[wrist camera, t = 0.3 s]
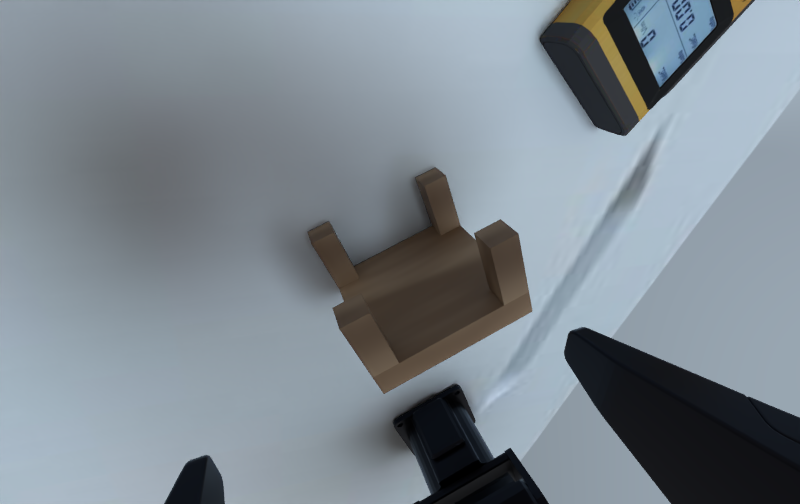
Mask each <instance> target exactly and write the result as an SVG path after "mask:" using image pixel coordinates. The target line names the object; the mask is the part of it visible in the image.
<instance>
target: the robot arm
mask: <svg viewBox="0 0 800 504" xmlns="http://www.w3.org/2000/svg"><path fill="white" fill-rule="evenodd" d="M564 356H565V359H566V361H567V363H568V364H569V366H570V367H571V369H572V371H573V372H574V374H575V375H576V377H577V378H578V380H579V381H580V383H581V385H582V386H583V388H584V389H585V391H586V392H587V394H588V395H589V397H590V398H591V400H592V402H593V403H594V405H595V406H596V408H597V409H598V410H599V412H600V413H601V415H602V416H603V417H604V419H605V420H606V421H607V422H608V424H609V425H610V426H611V427H612V429H613V430H614V431H615V433H616V434H617V435H618V437H619V438H620V439H621V440H622V442H623V443H624V444H625V445H626V447H627V448H628V449H629V451H630V452H631V453H632V454H633V456H634V457H635V458H636V459H637V461H638V462H639V463H640V464H641V466H642V467H643V468H644V470H645V471H646V472H647V473H648V475H649V476H650V477H651V479H652V480H653V481H654V482H655V484H656V485H657V486H658V488H659V489H660V490H661V491H662V493H663V494H664V495H665V496H666V498H667V499H668V500H669V502H670V503H671V504H800V418H799V417H797V416H794V415H792V414H790V413H787V412H785V411H782V410H780V409H777V408H775V407H772V406H770V405H768V404H765V403H763V402H761V401H758V400H756V399H753V398H751V397H746V396H745V395H744V394H741V393H739V392H737V391H734V390H732V389H730V388H727V387H725V386H723V385H720V384H718V383H716V382H713V381H711V380H708V379H706V378H704V377H701V376H699V375H697V374H694V373H692V372H690V371H687V370H685V369H683V368H680V367H678V366H676V365H673V364H671V363H668V362H666V361H664V360H661V359H659V358H656V357H654V356H652V355H650V354H647V353H645V352H642V351H640V350H638V349H635V348H633V347H631V346H628V345H626V344H624V343H621V342H619V341H617V340H614V339H612V338H610V337H607V336H605V335H603V334H600V333H598V332H595V331H593V330H591V329H588V328H585V327H581V328H578V329H575V330H572V331H570V332H569V334H568V338H567V342H566V346H565V350H564ZM474 423H475V418H474V416H473V414H472V411H471V409H470V407H469V405H468V402H467V400H466V398H465V395H464V393H463V391H462V389H461V387H460V386H458V385H456V386H454V387H452V388H450V389H448V390H446V391H445V392H443V393H441V394H439V395H438V396H436V397H434V398H432V399H431V400H429V401H427V402H425V403H423V404H422V405H420V406H418V407H416V408H415V409H413V410H411V411H409V412H408V413H406V414H404V415H402V416H400V417H399V418H397V419H395V420H394V422H393V424H394V427H395V429H396V430H397V432H398V433H399V435H400V436H401V437H402V439H403V440H404V441H405V443H406V444H407V446H408V447H409V448H410V450H411V451H412V453H413V454H414V455H415V456H416V459H417V461H418V464H419V466H420V468H421V471H422V473H423V476H424V478H425V481H426V483H427V486H428V488H429V491H430V493H431V495H430V496H428V497H427V498H425V499H423V500H421V501H417V502H415V503H414V504H549V503H548V502H547V500H546V499H545V497H544V495H543V494H542V492H541V491H540V489H539V488H538V487H537V485H536V484H535V482H534V481H533V479H532V478H531V477H530V475H529V474H528V472H527V471H526V469H525V468H524V467H523V465H522V464H521V462H520V461H519V459H518V458H517V456H516V455H515V454H514V452H513V451H512V449H511V448H509V449H507V450H506V451H505V453H503V454H501V455H500V456H498V457H496V458H494V457H493V455H492V454H491V452H490V450H489V449H488V447H487V445H486V443H485V442H484V440H483V438H482V436H481V435H480V433H479V431H478V429H477V428H476V426H475V424H474ZM164 504H225V501H224V487H223V480H222V476H221V474H220V472H219V471H218V469H217V467H216V465H215V464H214V462H213V460H212V459H211V457H210V456H208V455H204V456H201V457H198V458H196V459H193V460H190V461H188V462H187V463H186V464H185V466H184V467H183V469H182V471H181V473H180V475H179V477H178V479H177V481H176V482H175V484H174V486H173V488H172V490H171V492H170V494H169V496H168V498H167V499H166V501H165V503H164Z"/></svg>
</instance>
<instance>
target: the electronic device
mask: <svg viewBox="0 0 800 504" xmlns="http://www.w3.org/2000/svg"><path fill="white" fill-rule="evenodd" d="M754 1H755V0H571V1H570V2H569V4H568V5H567V6H566V7H565V9H564V10H563V11H562V12H561V13H560V15H559V16H558V17H557V18H556V19H555V21H554V22H553V23H552V24H551V25H550V26H549V28H548V29H547V30H546V31H545V32H544V34H543V35H542V36H541V38H540V42H541V44H542V45H544V48H545V50H546V51H547V53H548V54H549V56H550V58H551V59H552V61H553V62H554V64H555V65H556V67H557V68H558V70H559V71H560V73H561V74H562V76H563V77H564V79H565V81H566V82H567V84H568V85H569V87H570V88H571V90H572V91H573V93H574V94H575V96H576V97H577V99H578V101H579V102H580V104H581V105H582V107H583V108H584V110H585V111H586V113H587V114H588V116H589V117H590V119H591V120H592V122H593V124H594V125H595V126H596V127H598V128H600V129H603V130H606V131H608V132H611V133H614V134H617V135H622V136H626V135H627V134H628V133H629V132H630V131H631V130H632V129H633V127H634V126H635V125H636V124H637V123H638V122H639V121H640V120H641V119H642V118H643V117H644V116H645V114H646V113H647V112H648V111H649V110H650V109H651V108H653V106H654V105H655V104H656V103H657V102H658V101H659V100H660V99H661V98H663V97H664V96H665V95H666V94H668V93H669V92H670V91H671V90H672V89H673V88H674V87H675V85H676V84H677V83H678V82H679V81H680V80H681V79H682V78H683V77H684V76H685V75H686V74H687V73H688V72H689V70H690V69H691V68H692V67H693V66H694V65H695V64H696V63H697V62H698V61H699V60H700V59H701V58H702V56H703V55H704V54H705V53H706V52H707V51H708V50H709V49H710V48H711V47H712V46H713V45H714V44H715V42H716V41H717V40H718V39H719V38H720V37H721V36H722V35H723V34H724V33H725V32H726V31H727V30H728V29H729V27H730V26H731V25H732V24H733V23H734V22H735V21H736V20H737V19H738V18H739V17H740V16H741V15H742V13H743V12H744V11H745V10H746V9H747V8H748V7H749V6H750V5H751V4H752V3H753V2H754Z"/></svg>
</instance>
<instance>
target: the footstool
mask: <svg viewBox="0 0 800 504" xmlns="http://www.w3.org/2000/svg"><path fill="white" fill-rule="evenodd" d="M416 181H417V184H418V187H419V190H420V192H421V195H422V198H423V201H424V204H425V207H426V209H427V212H428V215H429V218H430V221H431V224H432V226H431V227H429V228H427V229H425V230H423V231H421V232H419V233H417V234H415V235H413V236H411V237H410V238H408V239H406V240H404V241H402V242H400V243H398V244H396V245H394V246H392V247H390V248H388V249H386V250H385V251H383V252H381V253H379V254H377V255H375V256H373V257H371V258H369V259H367V260H365V261H363V262H361V263H360V264H358V265H356V266H354V265H353V264H352V262H351V260H350V258H349V257H348V255H347V253H346V251H345V249H344V248H343V246H342V244H341V242H340V240H339V239H338V237H337V235H336V233H335V231H334V230H333V228H332V226H331V224H330V222H327V223H325V224H323V225H321V226H319V227H317V228H315V229H313V230H311V231H309V232H308V235H309V238H310V241H311V244H312V245H313V247H314V249H315V250H316V252H317V254H318V255H319V257H320V258H321V260H322V262H323V263H324V265H325V267H326V268H327V270H328V271H329V273H330V275H331V276H332V278H333V279H334V281H335V283H336V284H337V286H338V288H339V289H340V292H341V295H342V297H343V300H344V302H343V303H341V304H339V305H337V306H335V307H334V308H333V311H334V314H335V317H336V320H337V323H338V326H339V329H340V330H341V332H342V333H343V335H344V336H345V338H346V339H347V341H348V342H349V344H350V345H351V347H352V348H353V350H354V351H355V352H356V354H357V355H358V357H359V358H360V360H361V361H362V363H363V364H364V366H365V367H366V369H367V370H368V372H369V373H370V374H371V376H372V377H373V379H374V380H375V382H376V383H377V385H378V386H379V388H380V389H381V391H382V392H383V394H385V393H387V392H388V391H390V390H392V389H394V388H396V387H397V386H399V385H401V384H403V383H405V382H406V381H408V380H410V379H412V378H414V377H415V376H417V375H419V374H421V373H423V372H424V371H426V370H428V369H430V368H432V367H433V366H435V365H437V364H439V363H441V362H442V361H444V360H446V359H448V358H450V357H451V356H453V355H455V354H457V353H459V352H460V351H462V350H464V349H466V348H467V347H469V346H471V345H473V344H475V343H476V342H478V341H480V340H482V339H484V338H485V337H487V336H489V335H491V334H493V333H494V332H496V331H498V330H500V329H502V328H503V327H505V326H507V325H509V324H511V323H512V322H514V321H516V320H518V319H520V318H521V317H523V316H525V315H527V314H529V313H530V312H532V307H531V301H530V295H529V290H528V284H527V279H526V273H525V268H524V262H523V257H522V251H521V246H520V240H519V235H518V233H517V232H516V231H514V230H513V229H512V228H511V227H509V226H508V225H507V224H506V223H504V222H503V221H502V220H501V219H500V220H498V221H497V222H495V223H493V224H491V225H489V226H487V227H485V228H483V229H481V230H479V231H478V232H476V233H474V234H475V238H476V240H475V239H474V238H473V237H472V236H471V235H470V234H469V233H468V232H466V231H465V230H464V229H463V228H462V227H461V226H460V223H459V219H458V216H457V212H456V209H455V206H454V202H453V199H452V196H451V192H450V189H449V185H448V182H447V179H446V175H444V174H443V173H442V172H441V171H439V170H438V169H437V168H434V169H432V170H430V171H428V172H426V173H424V174H422V175H420V176H418V177H416Z"/></svg>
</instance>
